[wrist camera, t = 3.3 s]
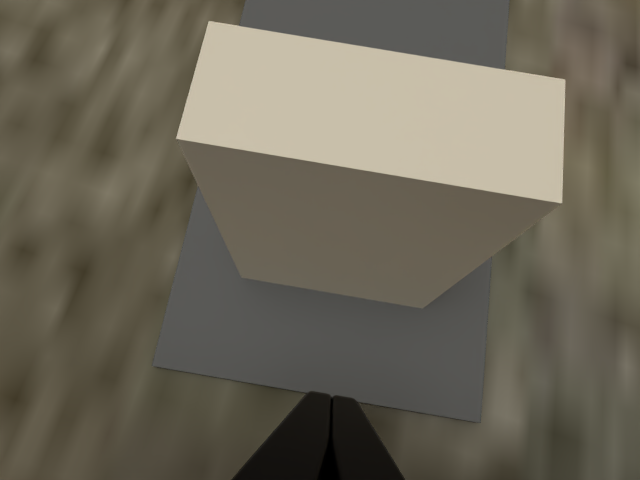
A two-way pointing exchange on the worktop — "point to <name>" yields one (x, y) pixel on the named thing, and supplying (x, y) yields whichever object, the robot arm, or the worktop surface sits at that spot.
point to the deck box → (367, 161)
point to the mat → (328, 308)
